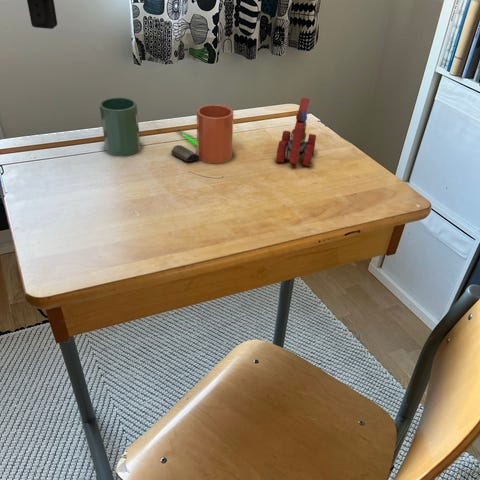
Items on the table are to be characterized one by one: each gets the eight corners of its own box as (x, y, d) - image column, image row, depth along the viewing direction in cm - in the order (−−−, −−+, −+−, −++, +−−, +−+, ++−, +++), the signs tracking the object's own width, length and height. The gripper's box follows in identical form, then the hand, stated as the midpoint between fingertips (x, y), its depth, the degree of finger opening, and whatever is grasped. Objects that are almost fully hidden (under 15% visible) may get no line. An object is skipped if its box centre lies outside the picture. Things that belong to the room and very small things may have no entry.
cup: (195, 162, 102) (194, 116, 96) (200, 147, 107) (199, 103, 101) (229, 164, 102) (231, 119, 96) (233, 149, 107) (234, 106, 101)
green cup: (101, 154, 103) (94, 109, 97) (111, 140, 108) (105, 96, 102) (135, 157, 103) (131, 112, 97) (143, 142, 108) (139, 98, 102)
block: (186, 165, 101) (186, 156, 100) (169, 154, 104) (169, 145, 103) (201, 160, 103) (201, 152, 102) (184, 149, 106) (183, 141, 105)
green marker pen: (181, 133, 113) (181, 130, 113) (215, 158, 105) (215, 154, 104) (178, 134, 113) (178, 130, 112) (211, 159, 104) (212, 155, 104)
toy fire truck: (273, 169, 101) (278, 116, 94) (283, 143, 110) (288, 93, 103) (308, 173, 101) (316, 121, 93) (315, 147, 110) (322, 97, 102)
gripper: (9, -147, 67) (37, 12, 80) (-46, -147, 56) (-3, 38, 69) (65, -143, 67) (85, 16, 80) (22, -141, 56) (53, 43, 69)
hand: (44, 26), depth 74 cm, fingers closed
